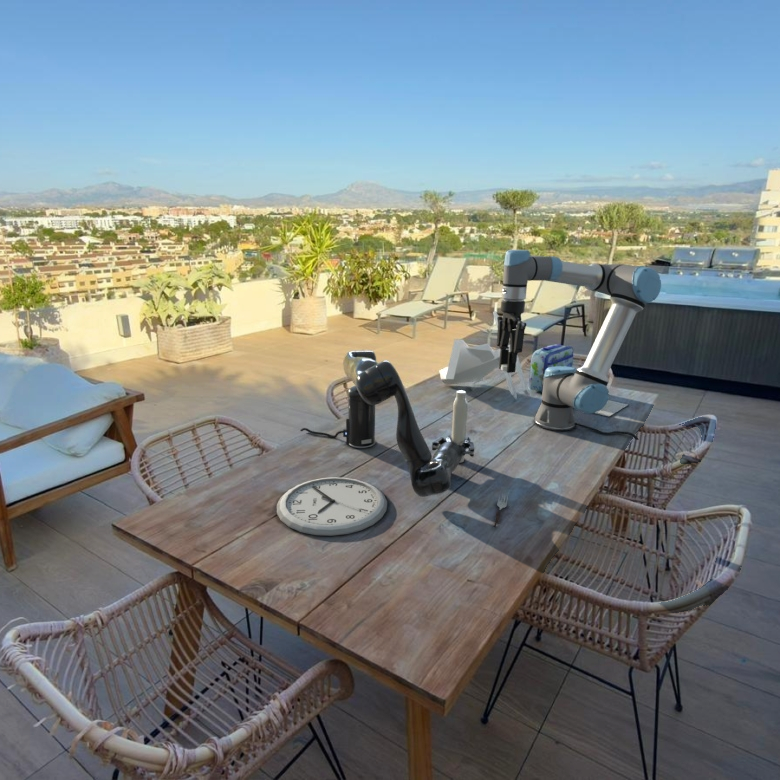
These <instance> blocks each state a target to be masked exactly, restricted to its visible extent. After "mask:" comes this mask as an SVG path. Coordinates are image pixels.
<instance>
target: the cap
mask: <svg viewBox="0 0 780 780" xmlns="http://www.w3.org/2000/svg"><path fill="white" fill-rule="evenodd" d="M500 371H503V372H504V371H507V364H502V365H501V369H500Z"/></svg>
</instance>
